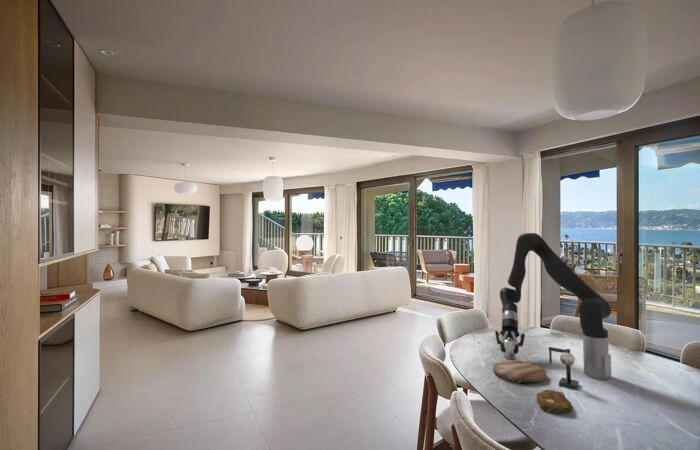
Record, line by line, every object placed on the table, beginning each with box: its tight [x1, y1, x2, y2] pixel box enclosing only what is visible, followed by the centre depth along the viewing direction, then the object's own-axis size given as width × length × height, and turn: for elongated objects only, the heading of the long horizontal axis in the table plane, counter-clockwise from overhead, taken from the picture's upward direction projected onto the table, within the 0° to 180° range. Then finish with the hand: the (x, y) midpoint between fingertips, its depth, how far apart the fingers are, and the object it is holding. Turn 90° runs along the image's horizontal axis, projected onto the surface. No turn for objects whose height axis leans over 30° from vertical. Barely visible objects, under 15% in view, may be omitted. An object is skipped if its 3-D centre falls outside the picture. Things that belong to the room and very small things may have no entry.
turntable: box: [492, 360, 547, 383], centre depth 161 cm, size 21×21×2 cm
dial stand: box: [548, 346, 580, 390], centre depth 151 cm, size 10×6×14 cm, turn 49°
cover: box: [502, 337, 519, 361], centre depth 178 cm, size 7×7×11 cm
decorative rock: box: [536, 389, 573, 415], centre depth 133 cm, size 11×4×15 cm
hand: (509, 352), depth 176 cm, fingers closed on cover, 5 cm apart
